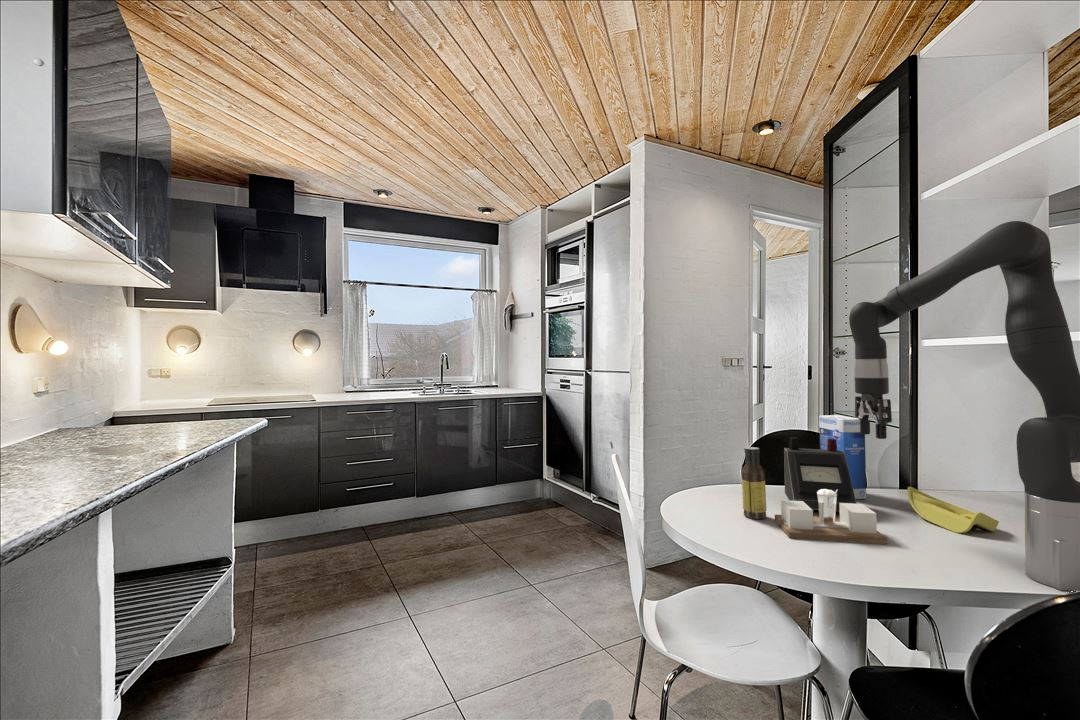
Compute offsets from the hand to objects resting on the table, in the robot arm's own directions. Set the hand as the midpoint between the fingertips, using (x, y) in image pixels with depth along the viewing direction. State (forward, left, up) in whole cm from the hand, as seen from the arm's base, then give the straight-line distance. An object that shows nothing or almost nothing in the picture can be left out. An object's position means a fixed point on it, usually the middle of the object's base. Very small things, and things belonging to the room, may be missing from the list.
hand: (872, 436), depth 128 cm
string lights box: (+33, -4, -25) cm, 41 cm away
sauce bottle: (+4, +29, -25) cm, 39 cm away
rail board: (-5, +13, -25) cm, 28 cm away
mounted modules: (-5, +13, -23) cm, 27 cm away
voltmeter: (+17, +8, -25) cm, 31 cm away
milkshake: (-6, +13, -23) cm, 27 cm away
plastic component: (+9, -22, -25) cm, 34 cm away
